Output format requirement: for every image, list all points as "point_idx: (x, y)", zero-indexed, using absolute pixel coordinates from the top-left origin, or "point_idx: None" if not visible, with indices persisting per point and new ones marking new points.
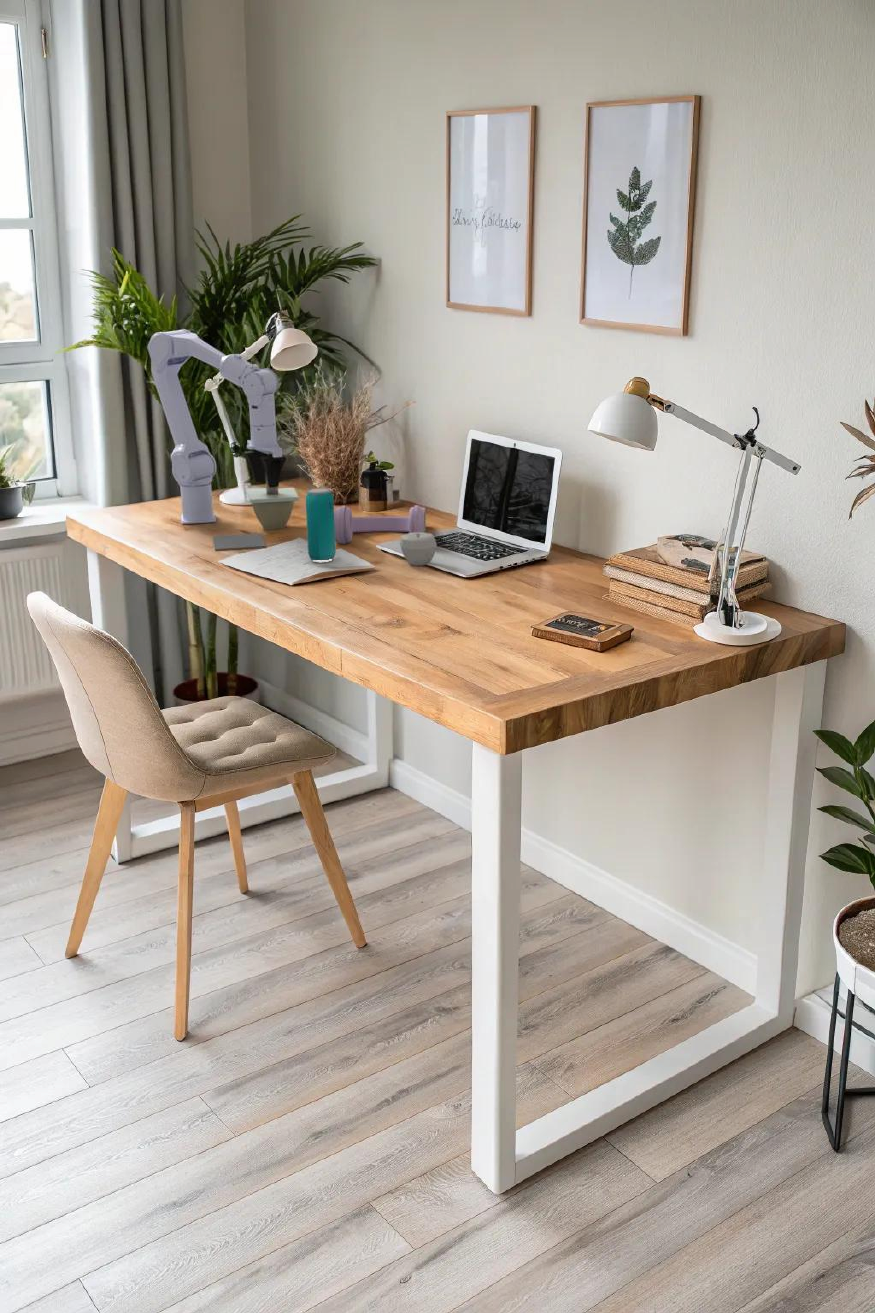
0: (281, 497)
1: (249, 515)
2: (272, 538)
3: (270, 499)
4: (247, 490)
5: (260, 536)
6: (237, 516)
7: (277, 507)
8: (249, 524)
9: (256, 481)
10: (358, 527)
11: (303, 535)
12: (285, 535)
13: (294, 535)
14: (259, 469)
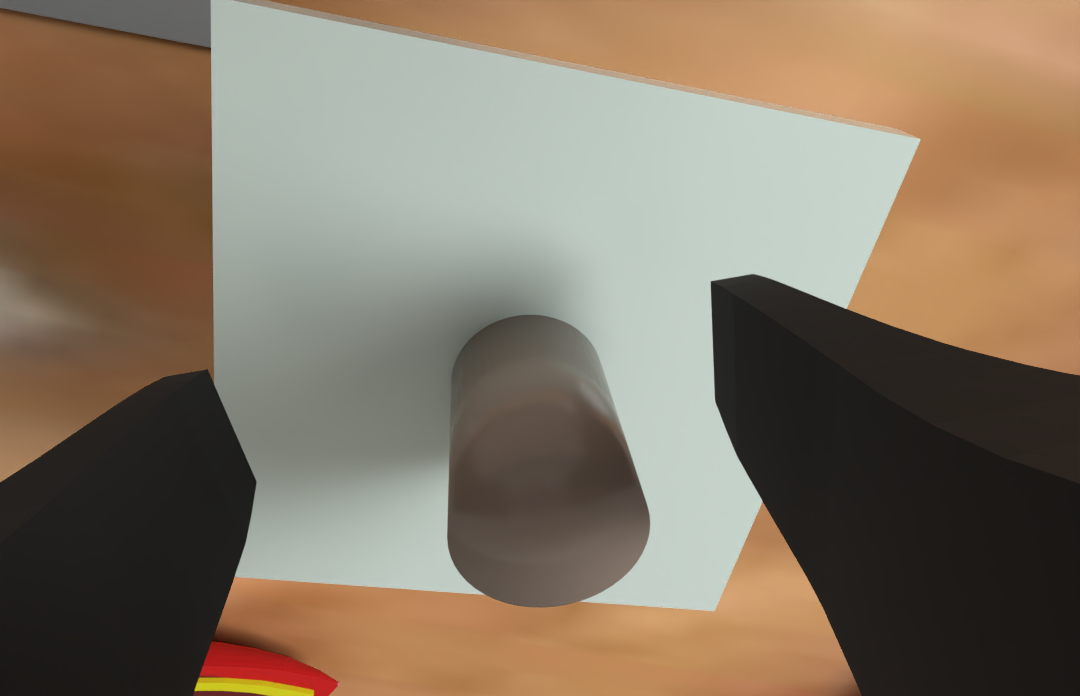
0: (250, 424)
1: (1021, 151)
2: (78, 108)
3: (217, 289)
4: (898, 143)
5: (97, 2)
6: (1066, 40)
7: None
8: (710, 58)
9: (711, 290)
10: None
11: (137, 362)
12: (172, 241)
13: (153, 304)
14: (801, 468)
